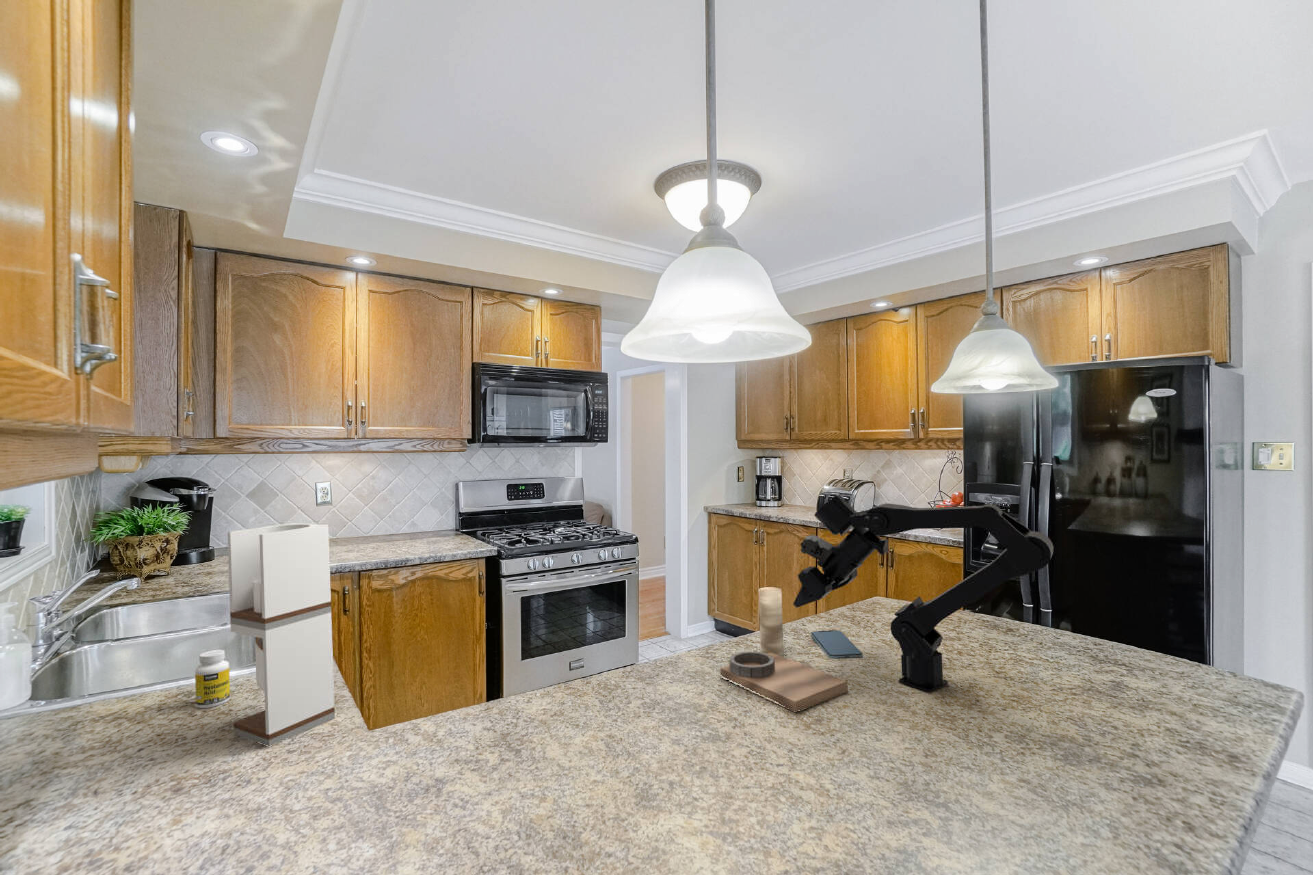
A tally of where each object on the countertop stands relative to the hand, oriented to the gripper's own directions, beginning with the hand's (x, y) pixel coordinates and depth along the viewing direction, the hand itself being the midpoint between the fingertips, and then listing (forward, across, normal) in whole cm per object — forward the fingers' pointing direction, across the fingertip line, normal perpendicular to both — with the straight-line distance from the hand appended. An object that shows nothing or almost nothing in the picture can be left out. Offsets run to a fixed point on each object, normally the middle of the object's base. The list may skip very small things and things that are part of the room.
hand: (804, 600), depth 130 cm
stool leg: (+15, 0, +3) cm, 15 cm away
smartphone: (+8, -11, +11) cm, 18 cm away
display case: (+53, +78, -37) cm, 101 cm away
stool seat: (+8, +15, +10) cm, 20 cm away
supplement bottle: (+69, +82, -54) cm, 120 cm away
